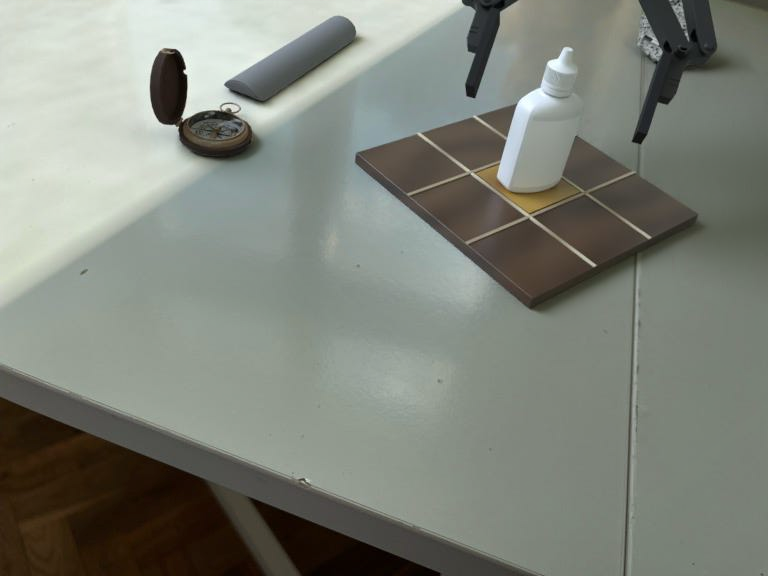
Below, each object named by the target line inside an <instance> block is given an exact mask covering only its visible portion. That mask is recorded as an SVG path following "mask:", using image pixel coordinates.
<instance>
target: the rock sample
mask: <svg viewBox="0 0 768 576" xmlns="http://www.w3.org/2000/svg"><path fill="white" fill-rule="evenodd" d="M669 2H670V4H671V6H672V8H673V10H674V12H675V14H676V16H677V18H678V20H679V23H680V25H681V27H682V29H683V31H684V33H685V35H686V37H687V39H688V41H689V37H688V31H687V26H686V21H685V16H684V10H683V5H682V0H669ZM638 26H639V27H638V28H639V32H638V35H637V42H636V43H637V44H636V46H637V48H639V49H640V50H641V51H642V52H643V53H644V54H645V55H646V56H647V57H648V58H650V60H651V61H652V62H654V63H658V61H659V59H660V57H661V55H662V53H663V51H662V49H661V47H660V45H659V43H658V41H657V39H656V37H655V34H654V32H653V30H652V28H651V26H650V24H649V22H648V20H647V18H646V16H645V13H644V11H643V12H642V14H641V17H640V19H639V24H638ZM716 41H717V38H716ZM689 43H690V42H689ZM717 50H718V49H717ZM718 51H719V50H718Z"/></svg>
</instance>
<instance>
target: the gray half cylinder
mask: <svg viewBox="0 0 768 576" xmlns="http://www.w3.org/2000/svg"><path fill="white" fill-rule="evenodd" d="M356 37H357V29H356V26H355V24H354V23H353V22H352V21H351V20H350V18H347V17H346V16H344V15H332V16H331V17H329V18H327V19H325V20H324V21H322V22H321V23H319V24H318V25H315V26H314V27H313V28H311V29H310V30H308V31H306V32H304V33H303V34H301V35H300V36H298V37H297V38H295V39H293V40H291V41H290V42H288V43H287V44H285V45H283V46H282V47H280V48H279V49H277V50H275V51H274V52H272V53H271V54H269V55H267V56H265V57H264V58H262V59H260V60H258V62H256V63H254V64H253V65H251V66H250V67H247V68H246V69H244V70H243V71H241V72H240V73H238V74H236V75H235V76H233V77H232V78H230V79H228V80H226V81H225V82H224V84H223V86H224V87H225V88H228V89H230V90H232V91H234V92H237V93H239V94H242V95H245V96H248V97H250V98H253V99H255V100H258V101H267V100H268V99H269V98H270V99H271V97H272V96H274V95H275V94H277V93H278V92H280V91H281V90H283V89H284V88H286V87H287V86H289V85H290V84H292V83H293V82H295V81H296V80H297V79H299V78H300V77H302V76H303V75H305V74H307V73H308V72H309V71H311V70H312V69H313V68H315V67H317V66H318V65H319V64H321V63H322V62H324V61H326V59H328V58H330V57H332V56H333V55H334V54H336V53H337V52H339V51H340V50H341V49H343V48H344V47H346V46H347V45H349V44H351V42H353V41H354V40H355V38H356Z"/></svg>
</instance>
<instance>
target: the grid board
mask: <svg viewBox="0 0 768 576" xmlns="http://www.w3.org/2000/svg"><path fill="white" fill-rule="evenodd" d="M517 104H518V102H517V103H513V104H510V105H507V106H505V107H501V108H498V109H494V110H491V111H487V112H484V113H481V114H478V115H472V116H471V117H468V118H464V119H462V120H459V121H455V122H452V123H449V124H445V125H442V126H439V127H436V128H432V129H429V130H425V131H423V132H416V133H415V134H412V135H409V136H406V137H402V138H400V139H396V140H393V141H390V142H386V143H384V144H380V145H377V146H373V147H370V148H367V149H363V150H361V151H360V150H359V151H357V152H356V153H355V159H354V164H355V165H357V166H358V167H360V168H361V169H362V170H363V171H364V172H366V173H367V174H368V175H369V176H370V177H371V178H372V179H374V180H375V181H376V182H377V183H378V184H380V185H381V186H382V187H383V188H385V189H386V190H387V191H388V192H390V193H391V194H392V195H393V196H394V197H395V198H397V199H398V200H399V201H400V202H401V203H403V204H404V206H406V207H408V209H410V210H411V211H412V212H413V213H414V214H416V215H417V216H418V217H419V218H420V219H422V220H423V222H425V223H427V224H428V225H429V226H430V227H431V228H432V229H433V230H434V231H436V232H437V233H438V234H439V235H441V236H442V237H443V238H444V239H445V240H447V241H448V242H449V243H451V245H452V246H454V247H455V248H456V249H457V250H458V251H460V253H462V254H463V255H465V256H466V257H467V258H468V259H469V260H471V261H472V262H473V263H474V264H475V265H477V267H479V268H480V269H481V270H482V271H483V272H485V273H486V274H487V275H488V276H490V277H491V279H493V280H494V281H496V282H497V283H498V284H499V285H500V286H502V287H503V288H504V289H505V290H506V291H507V292H509V293H510V294H512V296H513V297H515V298H516V299H517V300H518V301H519V302H520V303H522V304H523V305H524V306H525V307H527V308H528V309H531V308H533V307H535V306H537V305H538V304H540V303H542V302H545V301H546V300H548V299H550V298H552V297H554V296H557V295H558V294H560V293H562V292H564V291H566V290H568V289H570V288H572V287H573V286H576V285H577V284H580V283H581V282H583V281H585V280H587V279H589V278H591V277H593V276H595V275H596V274H599V273H601V272H603V271H604V270H607V269H608V268H610V267H612V266H614V265H617V264H618V263H620V262H622V261H624V260H626V259H628V258H630V257H632V256H634V255H635V254H637V253H639V252H641V251H644V250H646V249H648V248H649V247H652V246H653V245H655V244H657V243H659V242H661V241H663V240H665V239H667V238H668V237H670V236H673V235H675V234H676V233H679V232H681V231H682V230H683V229H686V228H688V227H690V226H692V225H694V224H695V223H696V221H697V219H698V217H699V215H700V214H699V212H696V211H695V210H693V209H691V208H690V207H689V206H687V205H685V204H684V203H682V202H681V201H679V200H678V199H676V198H675V197H673V196H672V195H670V194H668V193H667V192H665V191H664V190H662V189H661V188H659V187H657V186H656V185H655V184H653V183H652V182H650V181H648V180H647V179H646V178H644V177H642V176H640V175H639V174H637V172H636V171H635V170H631V169H630V168H628V167H626V166H625V165H624V164H622V163H621V162H619V161H617V160H616V159H614V158H613V157H611V156H609V155H608V154H606V153H605V152H603V151H602V150H601V149H599V148H597V147H596V146H594V145H593V144H591V143H589V142H588V141H586V140H585V139H583V138H581V137H580V136H579V134H577V133H576V135H575V138H574V141H573V144H572V147H571V150H570V153H569V156H568V159H567V162H566V165H565V168H564V171H563V174H562V176H561V179H560V181H559V183H557V184H556V185H555V186H553V187H551V188H549V189H547V190H544V191H540V192H534V193H516V192H511V191H509V190H507V189H506V188H505V187H504V186H503V185H502V184H501V183H500V181H499V180H498V178H497V174H498V170H499V166H500V163H501V159H502V155H503V152H504V148H505V144H506V141H507V137H508V134H509V130H510V127H511V123H512V119H513V116H514V113H515V110H516V107H517Z"/></svg>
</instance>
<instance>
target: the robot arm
mask: <svg viewBox="0 0 768 576" xmlns="http://www.w3.org/2000/svg"><path fill="white" fill-rule="evenodd" d="M517 2H519V0H461V3H462V4H463V6H465V7H470V8H471V9H473V10H474V11H475V12H474V15H473V17H472V21H471V25H470V27H469V30H468V33H467V36H466V47H467V52H468V53H472V54H474V57H473V59H472V63H471V65H470V68H469V72H468V75H467V77H466V80H465V84H464V86H465V96H466V97H468V98H472V99H476V98H477V94H478V93H479V89H480V86H481V83H482V79H483V77H484V73H485V71H486V68H487V66H488V65H487V64H488V62H489V58H490V56H491V53H492V51H493V47H494V43H495V41H496V38H497V35H498V31H499V29H500V26H501V12H503V11H504V10H506V9H507V8H509V7H511V6H513V4H515V3H517ZM681 2H682V5H683V10H684V16H685V21H686V26H687V31H688V37H689V41H688V39H687V37H686V35H685V33H684V31H683V29H682V27H681V25H680V23H679V20H678V18H677V16H676V14H675V12H674V10H673V8H672V6H671V4H670V2H669V0H638V3H639V5H640V7H641V9H642V11H643V12H644V13H645V16H646V18H647V20H648V22H649V24H650V26H651V28H652V30H653V32H654V34H655V37H656V39H657V41H658V43H659V45H660V47H661V49H662V51H663V53H662V55H661V57H660V59H659V61H657V62H656V65H655V67H654V70H653V74H652V77H651V80H650V82H649V86H648V88H647V89H648V90H647V92H646V96H645V98H644V101H643V105H642V107H641V111H640V114H639V116H638V121H637V123H636V127H635V130H634V132H633V135H632V139H631V143H633V144H638V145H642V144H643V142H644V141H645V139H646V137H647V136H648V134H649V131H650V128H651V125H652V121H653V118H654V116H655V112H656V109H657V106H658V103H659V104H662V105H666V106H669V104H670V103H671V102H672V100H673V99H674V98H675V96H676V95H677V92H678V90H679V86H680V83H681V79H682V77H683V74H684V72H685V71H684V70H685V67H687V66H691V65H695V66H699V67H704V66H706V65H707V64H709V61H710V60H711V59H712V57H713V56H714V54H715V53H716V51H717V50H718V41H717V40H716V39H717V37H716V31H715V26H714V21H713V16H712V15H713V14H712V11H711V6H710V1H709V0H681ZM689 42H690V43H689Z"/></svg>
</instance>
